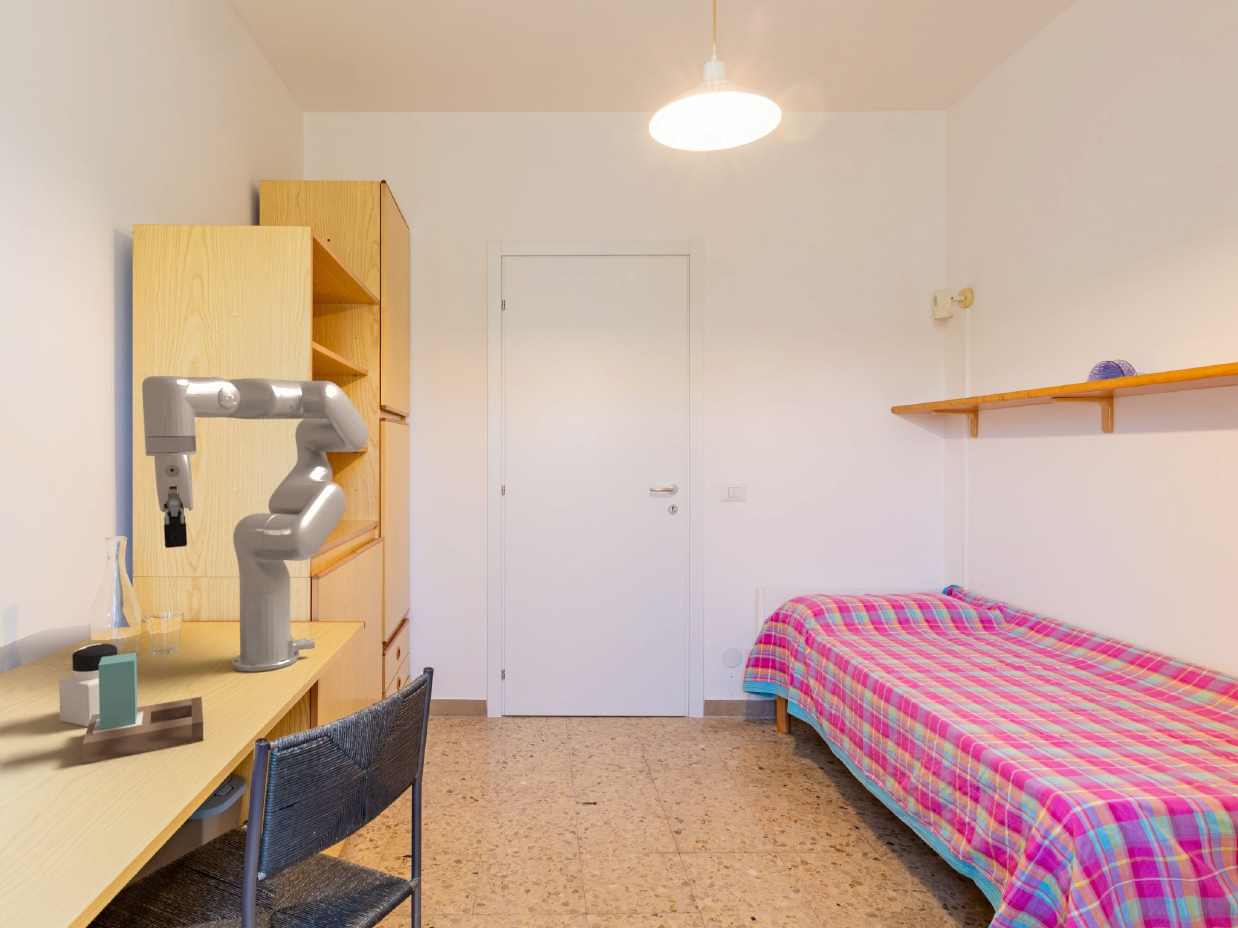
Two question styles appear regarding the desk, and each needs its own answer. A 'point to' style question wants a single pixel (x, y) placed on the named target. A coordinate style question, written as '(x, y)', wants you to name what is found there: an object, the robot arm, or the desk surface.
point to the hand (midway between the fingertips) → (176, 542)
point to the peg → (118, 691)
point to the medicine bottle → (83, 684)
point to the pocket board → (146, 731)
